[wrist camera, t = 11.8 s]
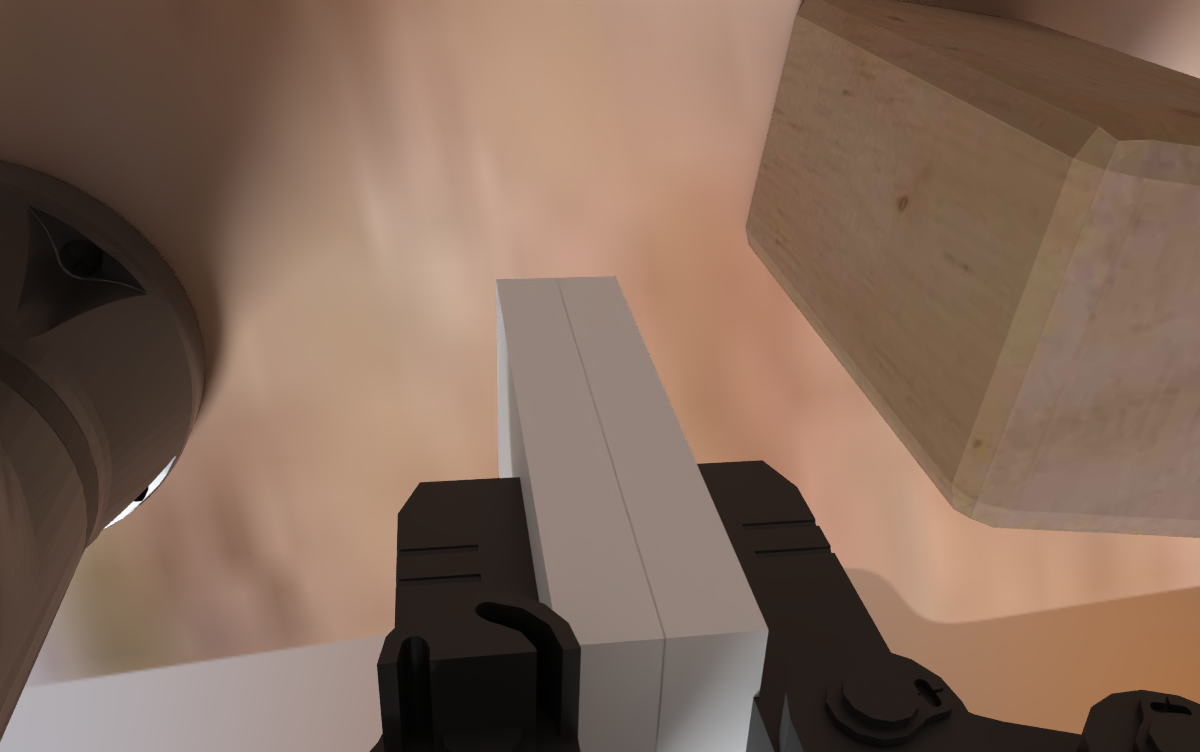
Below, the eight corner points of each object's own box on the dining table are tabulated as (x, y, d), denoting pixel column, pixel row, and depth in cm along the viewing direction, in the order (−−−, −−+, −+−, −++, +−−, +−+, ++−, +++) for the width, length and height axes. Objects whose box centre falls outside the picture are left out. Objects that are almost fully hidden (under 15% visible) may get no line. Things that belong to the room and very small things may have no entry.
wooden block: (794, -19, 38) (1120, 122, 20) (1040, 21, 40) (1529, 181, 22) (733, 242, 42) (957, 543, 25) (957, 266, 44) (1311, 559, 27)
